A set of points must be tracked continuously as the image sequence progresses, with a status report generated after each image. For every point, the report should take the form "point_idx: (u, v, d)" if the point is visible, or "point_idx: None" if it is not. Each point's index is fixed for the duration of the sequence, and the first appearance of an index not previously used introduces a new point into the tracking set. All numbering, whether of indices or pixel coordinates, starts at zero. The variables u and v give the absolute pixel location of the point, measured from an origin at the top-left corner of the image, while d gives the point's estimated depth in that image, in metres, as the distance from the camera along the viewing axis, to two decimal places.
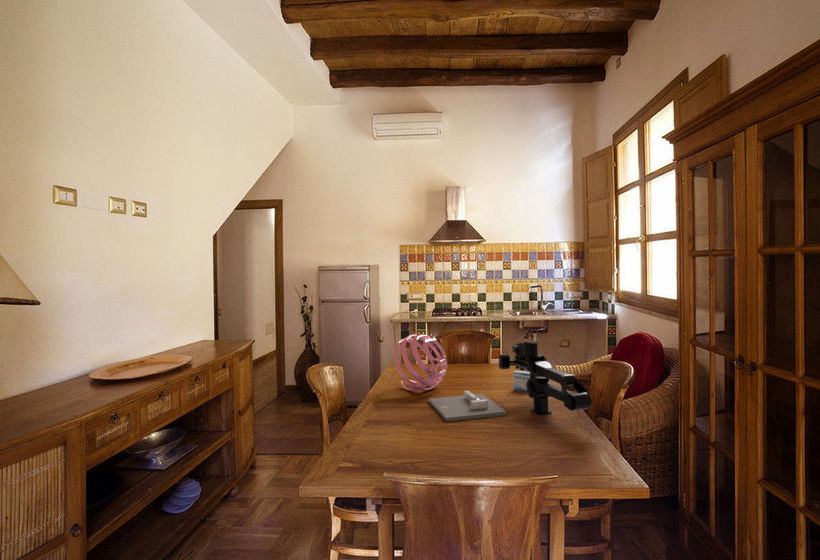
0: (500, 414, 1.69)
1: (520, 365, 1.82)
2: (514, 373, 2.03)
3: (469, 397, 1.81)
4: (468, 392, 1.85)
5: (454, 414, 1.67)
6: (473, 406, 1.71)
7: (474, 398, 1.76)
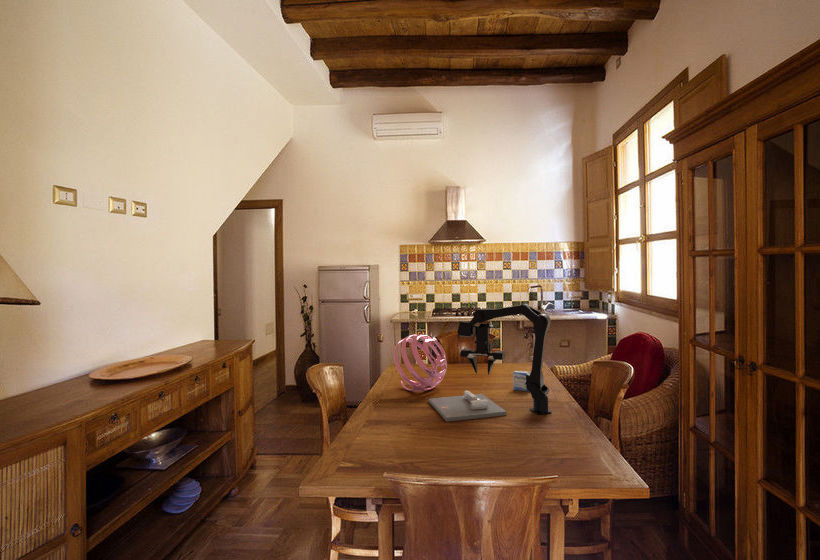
0: (500, 414, 1.69)
1: (475, 340, 1.84)
2: (514, 373, 2.03)
3: (469, 397, 1.81)
4: (468, 392, 1.85)
5: (454, 414, 1.67)
6: (473, 406, 1.71)
7: (474, 398, 1.76)
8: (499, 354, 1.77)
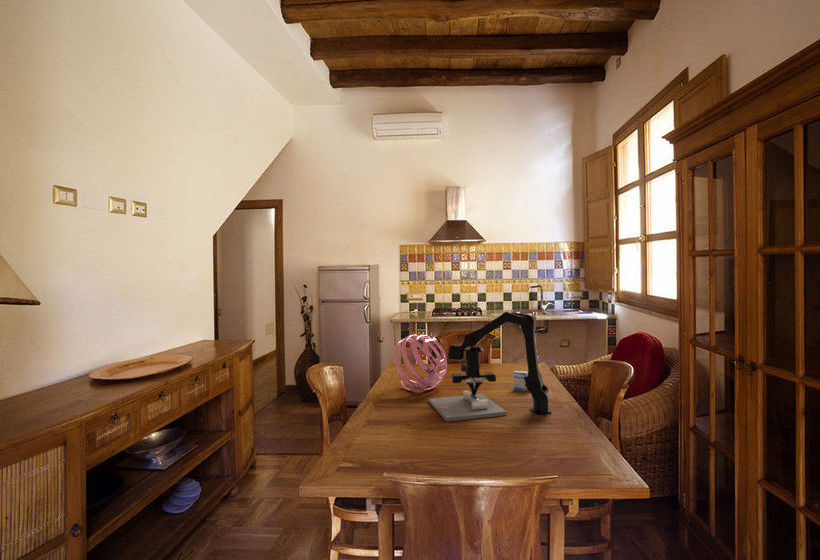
0: (500, 414, 1.69)
1: (466, 364, 1.83)
2: (514, 373, 2.03)
3: (469, 397, 1.81)
4: (467, 392, 1.85)
5: (454, 414, 1.67)
6: (473, 406, 1.71)
7: (474, 398, 1.76)
8: (493, 376, 1.82)
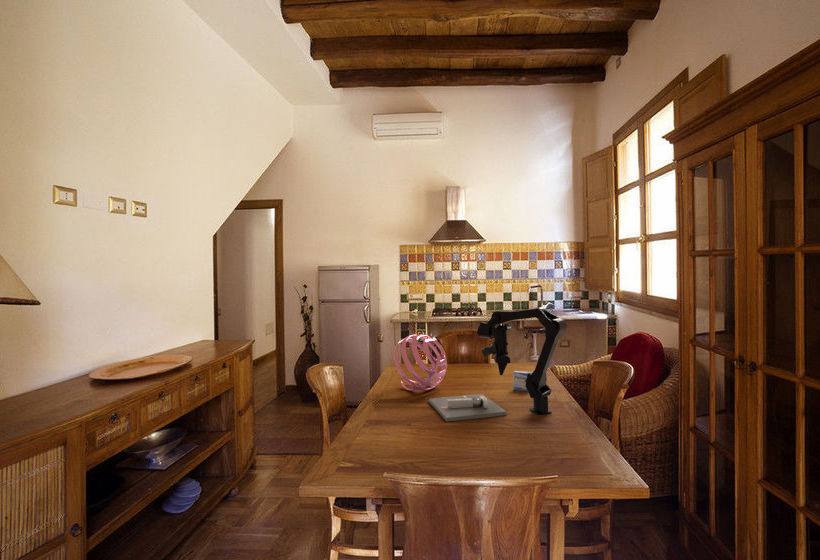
0: (500, 414, 1.69)
1: (502, 343, 1.81)
2: (514, 373, 2.03)
3: (464, 402, 1.74)
4: (454, 399, 1.75)
5: (454, 414, 1.67)
6: None
7: (475, 399, 1.75)
8: None
